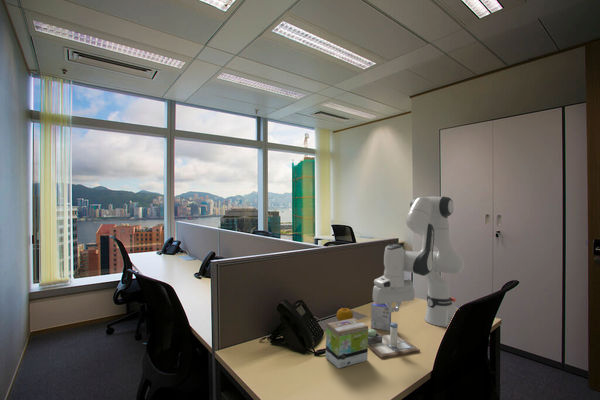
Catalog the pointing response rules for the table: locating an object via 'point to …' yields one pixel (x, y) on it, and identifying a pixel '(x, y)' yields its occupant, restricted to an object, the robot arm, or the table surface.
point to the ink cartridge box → (380, 316)
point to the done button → (371, 332)
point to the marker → (393, 335)
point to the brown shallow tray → (384, 349)
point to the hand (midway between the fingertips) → (393, 311)
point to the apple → (344, 314)
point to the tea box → (346, 342)
